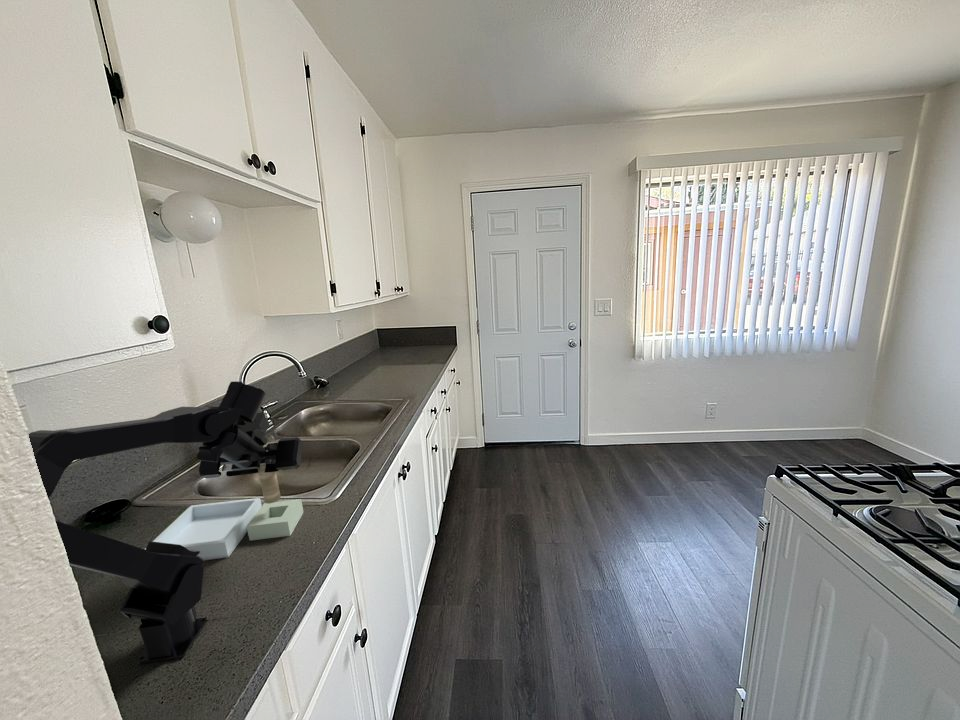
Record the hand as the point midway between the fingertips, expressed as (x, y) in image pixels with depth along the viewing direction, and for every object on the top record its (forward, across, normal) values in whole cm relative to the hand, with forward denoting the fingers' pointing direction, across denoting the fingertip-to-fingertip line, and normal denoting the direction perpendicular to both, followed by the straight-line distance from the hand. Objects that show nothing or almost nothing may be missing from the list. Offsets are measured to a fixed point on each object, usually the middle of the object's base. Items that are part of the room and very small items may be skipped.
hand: (269, 469), depth 84 cm
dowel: (+4, 0, +6) cm, 7 cm away
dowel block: (+8, 0, +10) cm, 13 cm away
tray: (+8, +14, +11) cm, 19 cm away
